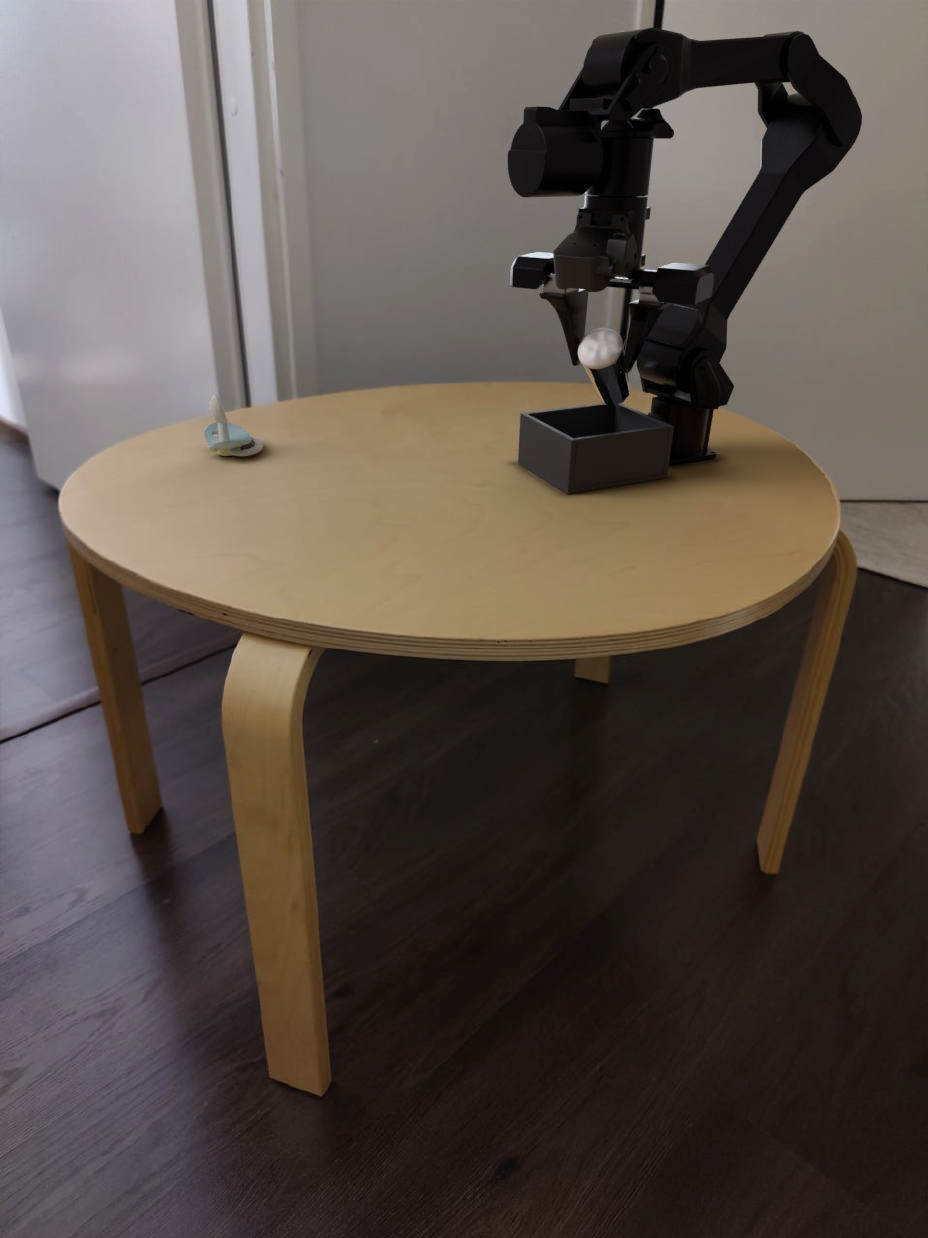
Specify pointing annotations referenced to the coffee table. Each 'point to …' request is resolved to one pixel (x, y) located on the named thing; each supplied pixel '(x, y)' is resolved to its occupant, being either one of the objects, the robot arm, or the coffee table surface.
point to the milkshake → (605, 364)
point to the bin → (594, 446)
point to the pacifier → (228, 434)
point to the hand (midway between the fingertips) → (601, 368)
